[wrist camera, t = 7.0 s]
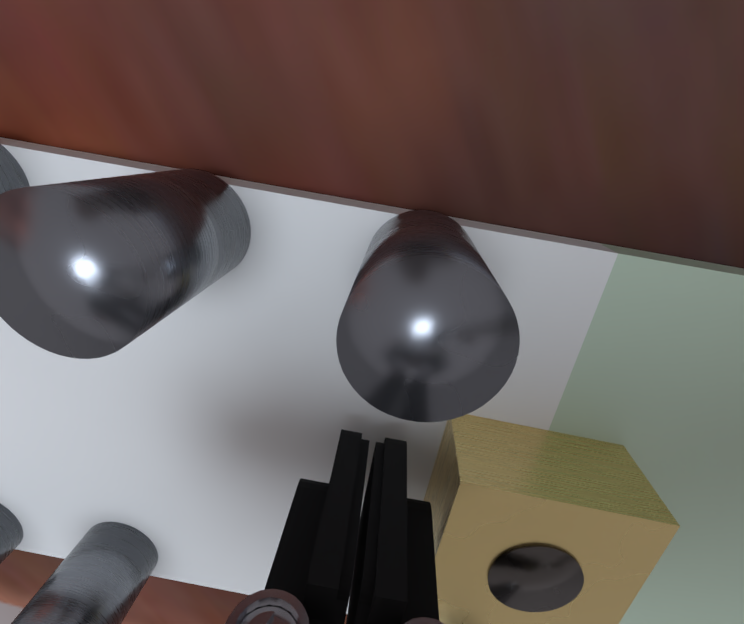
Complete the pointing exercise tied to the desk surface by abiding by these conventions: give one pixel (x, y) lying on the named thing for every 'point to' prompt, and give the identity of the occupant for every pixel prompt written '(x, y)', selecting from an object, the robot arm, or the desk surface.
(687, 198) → the desk surface
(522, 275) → the board
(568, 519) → the nut
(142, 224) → the spacers
